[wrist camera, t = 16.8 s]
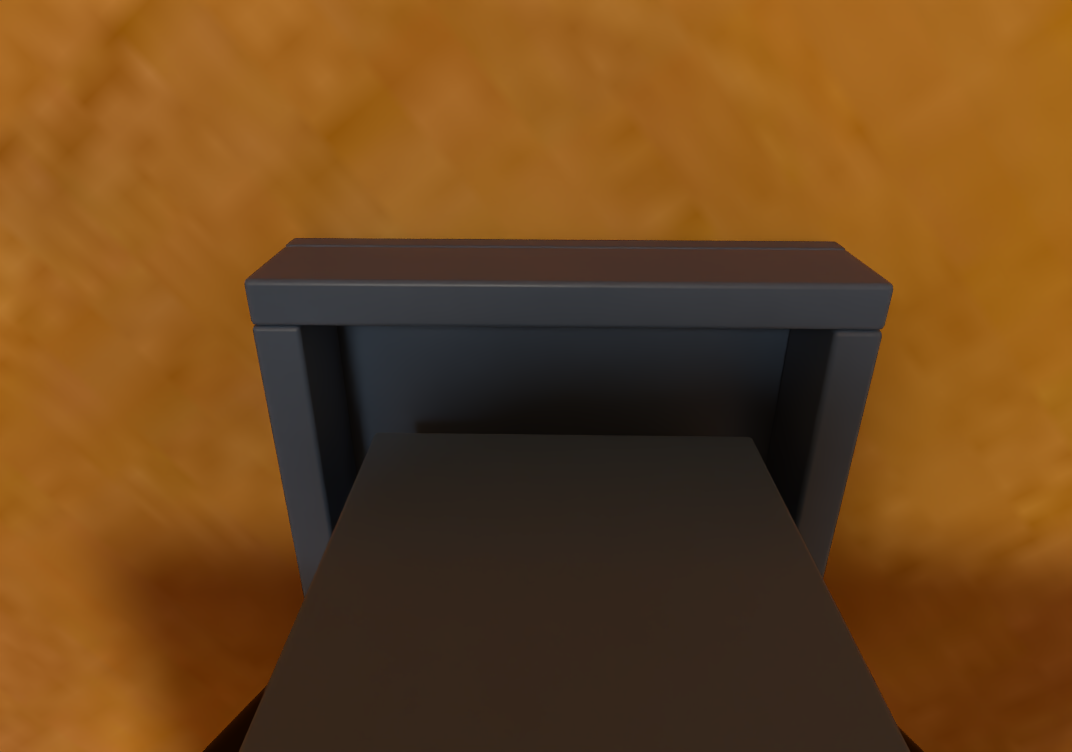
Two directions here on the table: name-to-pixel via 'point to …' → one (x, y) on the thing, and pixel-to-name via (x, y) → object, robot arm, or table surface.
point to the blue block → (568, 608)
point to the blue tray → (565, 354)
